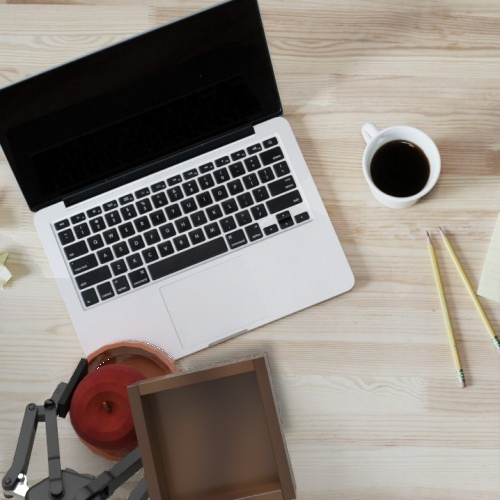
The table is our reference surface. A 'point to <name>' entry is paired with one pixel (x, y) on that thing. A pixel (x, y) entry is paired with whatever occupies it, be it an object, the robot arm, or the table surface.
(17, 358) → the table surface
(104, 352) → the bowl
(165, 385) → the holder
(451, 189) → the table surface
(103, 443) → the apple
